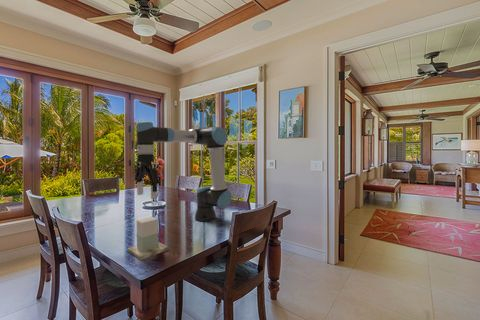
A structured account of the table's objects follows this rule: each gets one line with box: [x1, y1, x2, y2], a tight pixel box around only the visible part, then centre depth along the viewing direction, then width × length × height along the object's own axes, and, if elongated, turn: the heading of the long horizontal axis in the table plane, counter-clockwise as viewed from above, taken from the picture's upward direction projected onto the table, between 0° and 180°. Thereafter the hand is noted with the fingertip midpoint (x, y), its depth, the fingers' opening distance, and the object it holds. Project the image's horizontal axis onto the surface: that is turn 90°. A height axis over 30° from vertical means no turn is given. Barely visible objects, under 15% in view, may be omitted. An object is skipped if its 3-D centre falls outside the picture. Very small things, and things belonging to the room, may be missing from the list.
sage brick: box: [136, 232, 159, 252], centre depth 115 cm, size 8×6×7 cm
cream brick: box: [136, 216, 159, 237], centre depth 114 cm, size 8×6×7 cm
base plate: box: [126, 241, 169, 261], centre depth 115 cm, size 14×14×2 cm
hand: (146, 196), depth 115 cm, fingers open, 13 cm apart
